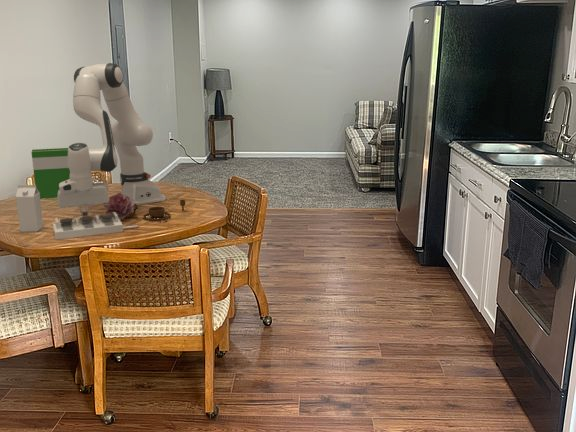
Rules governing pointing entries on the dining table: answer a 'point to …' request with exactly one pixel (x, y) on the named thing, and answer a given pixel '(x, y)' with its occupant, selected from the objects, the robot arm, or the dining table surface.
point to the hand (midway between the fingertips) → (85, 215)
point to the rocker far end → (66, 220)
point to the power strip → (88, 227)
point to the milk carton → (29, 208)
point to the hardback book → (50, 170)
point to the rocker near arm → (106, 216)
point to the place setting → (160, 213)
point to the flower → (121, 206)
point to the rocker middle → (86, 218)
